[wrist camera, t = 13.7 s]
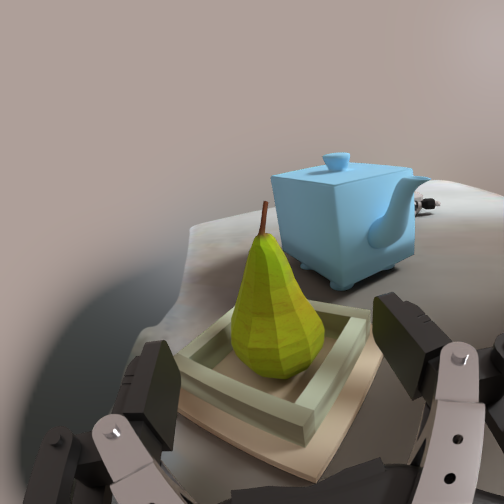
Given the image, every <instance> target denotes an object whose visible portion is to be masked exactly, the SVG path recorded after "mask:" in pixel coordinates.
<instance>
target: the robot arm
mask: <svg viewBox="0 0 504 504" xmlns="http://www.w3.org/2000/svg"><path fill="white" fill-rule="evenodd" d="M372 333H373V338H374V341H375V343H376V345H377V346H378V348H379V349H380V351H381V352H382V354H383V355H384V357H385V358H386V360H387V361H388V363H389V364H390V366H391V368H392V369H393V371H394V372H395V374H396V375H397V377H398V378H399V380H400V382H401V383H402V385H403V386H404V388H405V390H406V391H407V393H408V394H409V396H410V398H411V399H412V400H415V399H417V398H419V397H421V396H423V398H424V399H425V403H424V406H423V410H422V415H421V419H420V424H419V428H418V432H417V436H416V439H415V443H414V446H413V449H412V452H411V454H410V457H409V459H408V462H407V464H384V465H383V463H382V461H381V458H380V457H379V458H376V459H374V460H371V461H368V462H365V463H362V464H359V465H356V466H353V467H350V468H347V469H344V470H342V471H341V472H339V473H337V474H335V475H333V476H331V477H329V478H327V479H325V480H323V481H321V482H319V483H317V484H315V485H312V486H309V487H276V486H266V487H258V488H250V489H241V490H231V496H232V498H231V499H228V500H225V501H223V502H220V503H218V504H504V496H500V495H496V494H493V493H489V492H486V491H483V490H479V489H476V485H477V480H478V474H479V468H480V462H481V455H482V446H483V437H484V424H485V422H486V424H487V425H488V427H489V429H490V430H491V432H492V434H493V436H494V437H495V439H496V441H497V442H498V444H499V446H500V448H501V449H502V451H503V453H504V333H502V334H500V335H499V336H498V337H497V338H496V340H495V343H494V345H493V347H489V348H484V349H479V350H475V348H474V347H472V346H471V345H469V344H467V343H465V342H452V341H451V340H450V339H449V337H448V336H447V335H446V334H445V333H444V332H443V331H442V330H441V329H440V328H439V327H438V326H437V325H436V324H435V323H434V322H433V321H431V319H430V318H429V317H428V316H427V315H425V313H424V312H423V311H422V310H421V309H420V308H419V307H418V306H417V305H415V304H413V303H411V302H409V301H404V302H403V301H402V300H401V299H400V298H399V297H398V296H397V295H396V294H395V293H394V292H390V293H387V294H384V295H380V296H377V297H375V298H374V301H373V322H372ZM124 376H125V377H124V378H123V381H122V386H120V389H119V392H118V395H117V398H116V401H115V404H114V407H113V410H112V413H111V415H107V416H105V417H103V418H102V419H100V420H99V421H98V422H97V423H96V424H95V426H94V428H93V431H90V432H86V433H81V434H76V435H74V434H73V433H72V432H71V431H70V430H69V429H68V428H67V427H64V426H58V427H54V428H52V429H51V430H49V431H48V432H47V433H46V434H45V436H44V438H43V440H42V443H41V446H40V449H39V451H38V454H37V457H36V460H35V463H34V467H33V469H32V473H31V476H30V479H29V483H28V486H27V490H26V494H25V497H24V501H23V504H71V502H70V493H71V489H72V484H73V480H74V478H76V479H77V481H76V486H75V490H74V495H73V501H72V504H111V502H112V494H113V495H114V496H115V498H116V500H117V502H118V504H198V503H197V502H196V501H195V500H194V499H193V498H192V497H191V496H190V495H189V493H188V492H187V491H186V490H185V489H184V488H183V486H182V485H181V484H180V483H179V482H178V480H177V479H176V478H175V477H174V475H173V474H172V473H171V472H170V470H169V469H168V468H167V467H166V465H165V464H164V463H163V461H162V460H161V453H162V451H173V442H174V434H175V426H176V418H177V410H178V403H179V396H180V389H181V374H180V371H179V368H178V366H177V364H176V361H175V359H174V357H173V355H172V353H171V350H170V348H169V346H168V344H167V342H166V341H165V340H161V341H153V342H146V343H145V345H144V347H143V350H142V353H141V356H136V357H135V358H134V359H133V360H132V361H131V363H130V364H129V365H128V367H127V370H126V372H125V375H124Z"/></svg>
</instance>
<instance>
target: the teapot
mask: <svg viewBox="0 0 504 504" xmlns="http://www.w3.org/2000/svg"><path fill="white" fill-rule="evenodd" d="M349 159H350V154H349V153H331V154H326V155H324V156H323V160H324V162H325V164H326V165H322V166H316V167H312V168H306V169H301V170H297V171H292V172H287V173H283V174H278V175H273V176H271V183H272V188H273V194H274V200H275V206H276V212H277V218H278V224H279V230H280V236H281V242H282V248H283V251H284V252H286V253H287V254H289V255H290V256H292V257H294V258H295V259H297V260H298V261H300V262H302V263H301V265H300V267H301V268H302V269H305V270H312V269H313V270H314V271H316V272H317V273H319V274H321V275H322V276H324V277H325V278H327V279H329V280H330V287H331V288H332V289H334V290H338V291H343V290H348V289H350V288H352V287H353V286H354V283H356V282H359V281H361V280H363V279H365V278H367V277H369V276H371V275H373V274H375V273H377V272H380V271H382V270H389V269H392V268H393V267H394V264H396V263H398V262H400V261H402V260H404V259H406V258H408V257H410V256H412V255H414V240H415V206H414V191H415V190H416V189H417V188H418V186H420V185H421V184H423V183H425V182H427V181H429V180H430V179H431V178H428V177H421V176H413V170H412V168H405V167H396V166H387V165H376V164H364V163H349Z"/></svg>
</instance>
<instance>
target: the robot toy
mask: <svg viewBox="0 0 504 504" xmlns="http://www.w3.org/2000/svg"><path fill="white" fill-rule="evenodd" d="M440 204H441V203H440V202H438V201H435V200H434V199H432V198H430V199H423V195H422V194H420V193H419V192H415V191H414V206H415V216H416V214H417V213H419V211H420V210H421V209H422V208H424V209H435V206H440Z"/></svg>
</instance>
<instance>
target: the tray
mask: <svg viewBox="0 0 504 504" xmlns="http://www.w3.org/2000/svg"><path fill="white" fill-rule="evenodd" d="M308 301H309V303H310V304H311V305H312V307H313V308H314V310H315V311H316V313H317V314H318V316H319V317H320V319H321V320H322V323H323V326H324V329H325V333H324V343H323V348H322V349H321V350H320V352H319V353H318V355H317V356H316V358H315V359H314V360H313V362H312V363H311V365H310V366H309V368H308V369H307V370H305V371H303V372H301V373H299V374H297V375H294V376H292V377H290V378H288V379H277V378H267V377H262V376H260V375H258V374H256V373H255V372H254V371H253V370H252V369H250V368H249V367H248V366H247V365H245V364H244V363H243V362H242V361H241V360H240V359H239V358H238V357H237V356H236V354H235V351H234V349H233V347H232V344H231V318H232V314H233V311H234V308H235V306H234V307H233V308H232V309H231V310H229V311H228V312H227V313H226V314H225V315H223V316H222V317H221V318H220V319H219V320H217V321H216V322H215V323H214V324H213V325H211V326H210V327H209V328H208V329H206V330H205V331H204V332H203V333H202V334H200V335H199V336H198V337H197V338H195V339H194V340H193V341H192V342H190V343H189V344H188V345H187V346H186V347H184V348H183V349H182V350H181V351H179V352H178V353H177V354H176V355H174V356H173V357H174V359H175V361H176V364H177V366H178V368H179V371H180V374H181V389H180V396H179V403H178V410H177V412H179V413H180V414H182V415H183V416H185V417H186V418H188V419H189V420H191V421H192V422H194V423H196V424H197V425H199V426H200V427H202V428H204V429H205V430H207V431H208V432H210V433H212V434H214V435H215V436H217V437H219V438H220V439H222V440H224V441H226V442H227V443H229V444H231V445H233V446H235V447H237V448H238V449H240V450H242V451H244V452H246V453H248V454H250V455H252V456H254V457H256V458H258V459H260V460H262V461H264V462H266V463H268V464H270V465H273V466H275V467H277V468H279V469H281V470H284V471H286V472H288V473H291V474H293V475H295V476H298V477H300V478H303V479H305V480H308V481H311V482H313V483H317V482H318V480H319V479H320V477H321V476H322V474H323V472H324V471H325V469H326V468H327V466H328V465H329V463H330V461H331V460H332V458H333V456H334V455H335V453H336V451H337V450H338V448H339V446H340V445H341V443H342V441H343V439H344V438H345V436H346V434H347V432H348V430H349V428H350V427H351V425H352V423H353V421H354V419H355V417H356V415H357V413H358V411H359V409H360V407H361V405H362V403H363V401H364V399H365V397H366V395H367V393H368V390H369V388H370V386H371V384H372V382H373V379H374V377H375V375H376V373H377V370H378V368H379V366H380V363H381V361H382V358H383V356H384V355H383V354H382V352H381V351H380V349H379V348H378V346H377V345H376V343H375V341H374V338H373V333H372V324H371V323H370V319H371V310H366V309H360V308H353V307H347V306H341V305H335V304H330V303H324V302H318V301H312V300H308Z"/></svg>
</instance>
